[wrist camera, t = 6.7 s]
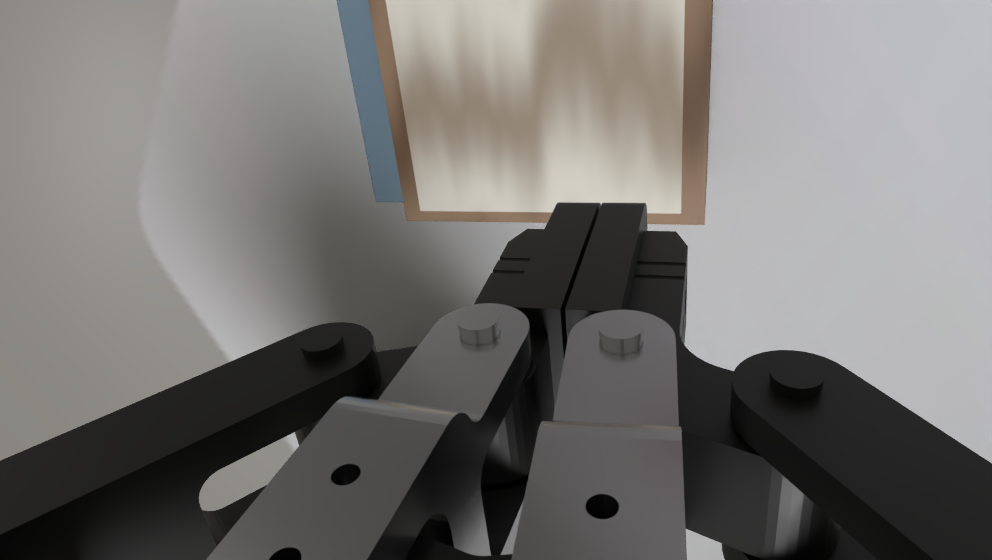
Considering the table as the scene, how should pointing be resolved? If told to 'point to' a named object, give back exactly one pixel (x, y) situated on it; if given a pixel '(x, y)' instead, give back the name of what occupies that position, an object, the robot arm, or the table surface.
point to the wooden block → (547, 105)
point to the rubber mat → (370, 98)
